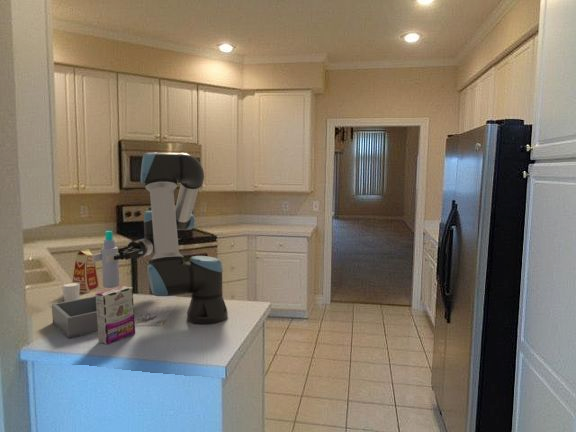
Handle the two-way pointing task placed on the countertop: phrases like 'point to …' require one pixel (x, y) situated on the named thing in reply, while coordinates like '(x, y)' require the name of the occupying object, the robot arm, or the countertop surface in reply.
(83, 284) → the milk carton
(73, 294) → the white cylinder
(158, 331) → the countertop surface
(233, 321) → the countertop surface
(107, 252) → the spray bottle
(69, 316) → the tote
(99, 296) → the candy bar box
